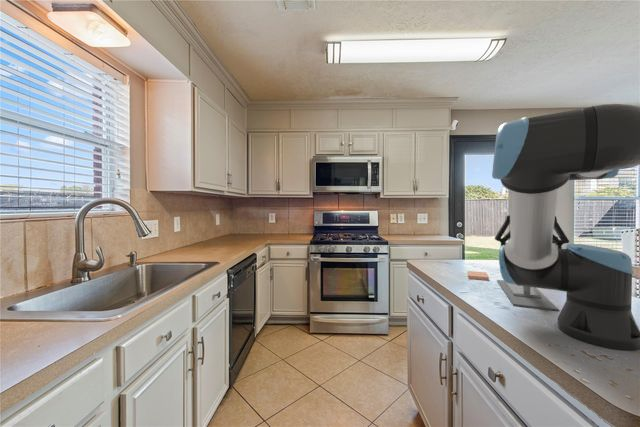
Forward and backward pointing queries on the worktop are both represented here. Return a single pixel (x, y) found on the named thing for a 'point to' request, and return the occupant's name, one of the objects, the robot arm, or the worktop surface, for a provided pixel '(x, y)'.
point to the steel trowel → (523, 291)
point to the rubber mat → (528, 299)
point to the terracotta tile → (477, 275)
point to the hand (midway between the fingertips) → (529, 262)
